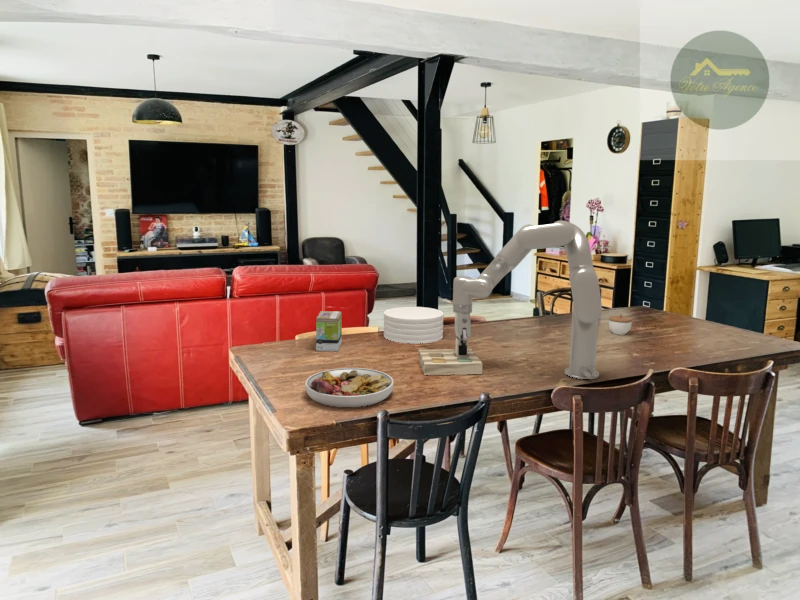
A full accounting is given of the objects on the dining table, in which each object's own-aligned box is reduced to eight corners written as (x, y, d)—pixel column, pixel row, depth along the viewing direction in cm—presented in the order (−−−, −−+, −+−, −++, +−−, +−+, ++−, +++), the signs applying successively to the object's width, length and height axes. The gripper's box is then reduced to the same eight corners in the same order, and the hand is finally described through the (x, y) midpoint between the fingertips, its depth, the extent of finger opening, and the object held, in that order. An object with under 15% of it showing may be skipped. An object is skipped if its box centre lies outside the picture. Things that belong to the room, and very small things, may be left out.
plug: (466, 364, 236) (467, 340, 234) (456, 364, 236) (457, 340, 234) (464, 361, 240) (465, 337, 238) (455, 361, 240) (455, 337, 238)
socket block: (482, 374, 227) (482, 362, 226) (424, 375, 225) (424, 363, 224) (471, 359, 247) (472, 348, 246) (418, 360, 245) (418, 348, 244)
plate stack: (453, 334, 288) (454, 311, 286) (423, 347, 265) (423, 322, 263) (404, 326, 303) (404, 304, 301) (371, 338, 280) (372, 314, 278)
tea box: (339, 351, 257) (338, 317, 254) (315, 351, 257) (315, 317, 254) (342, 342, 272) (341, 310, 269) (320, 342, 272) (319, 310, 269)
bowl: (348, 375, 226) (348, 355, 225) (411, 393, 208) (411, 371, 206) (287, 396, 203) (286, 374, 202) (350, 418, 185) (350, 394, 183)
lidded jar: (628, 337, 285) (630, 318, 283) (605, 334, 291) (606, 315, 289) (632, 332, 294) (634, 314, 292) (610, 329, 300) (611, 311, 298)
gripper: (476, 312, 226) (474, 358, 229) (467, 303, 243) (466, 346, 246) (456, 312, 225) (455, 359, 229) (449, 303, 242) (448, 347, 245)
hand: (461, 352), depth 237 cm, fingers open, 5 cm apart
